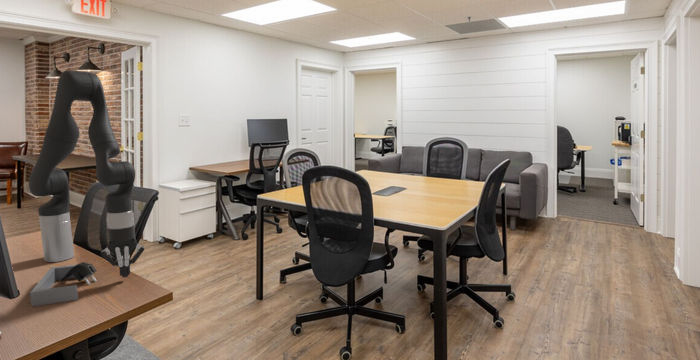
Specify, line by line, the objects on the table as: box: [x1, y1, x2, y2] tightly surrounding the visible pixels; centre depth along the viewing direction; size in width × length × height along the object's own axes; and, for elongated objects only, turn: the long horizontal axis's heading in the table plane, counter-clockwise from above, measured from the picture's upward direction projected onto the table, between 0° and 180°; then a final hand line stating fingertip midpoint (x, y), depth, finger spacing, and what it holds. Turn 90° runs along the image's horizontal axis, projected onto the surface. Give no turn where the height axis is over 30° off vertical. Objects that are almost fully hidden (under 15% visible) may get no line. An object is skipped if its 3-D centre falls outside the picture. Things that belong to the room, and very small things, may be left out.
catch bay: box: [29, 262, 91, 307], centre depth 130 cm, size 21×11×4 cm, turn 22°
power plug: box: [60, 261, 97, 286], centre depth 135 cm, size 6×8×12 cm
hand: (125, 276), depth 136 cm, fingers closed
